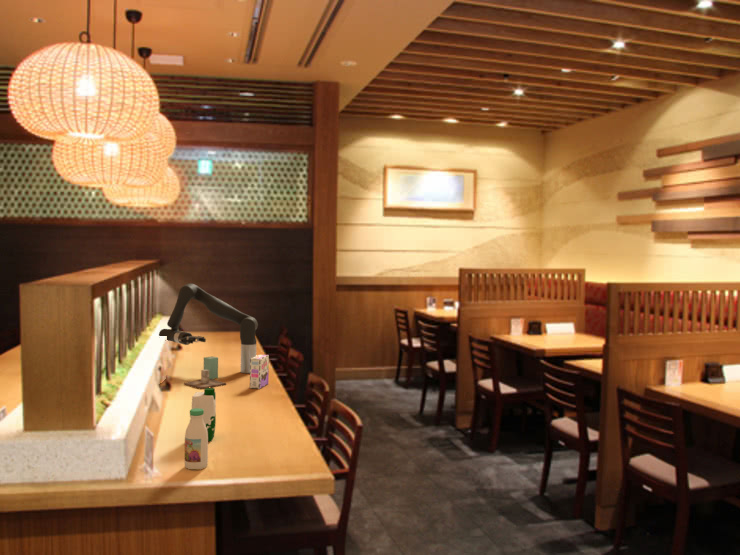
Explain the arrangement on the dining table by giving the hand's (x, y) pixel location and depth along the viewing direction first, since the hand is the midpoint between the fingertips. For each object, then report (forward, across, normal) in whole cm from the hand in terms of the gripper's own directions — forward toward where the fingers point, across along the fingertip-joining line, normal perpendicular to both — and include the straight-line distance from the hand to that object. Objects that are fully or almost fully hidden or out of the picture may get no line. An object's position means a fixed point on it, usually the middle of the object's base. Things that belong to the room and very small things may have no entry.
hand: (198, 341), depth 370 cm
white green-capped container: (+105, -70, +20) cm, 128 cm away
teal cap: (+12, 0, +20) cm, 23 cm away
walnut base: (+24, -12, +20) cm, 33 cm away
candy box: (+47, +7, +20) cm, 52 cm away
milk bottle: (+130, -90, +20) cm, 160 cm away
